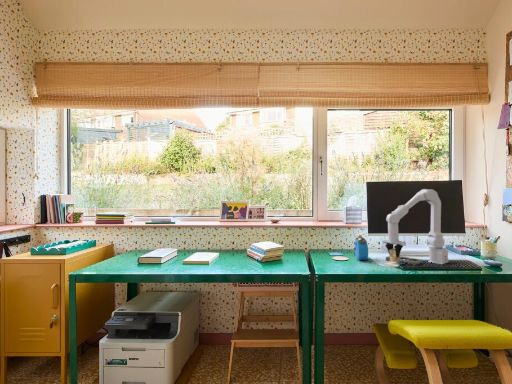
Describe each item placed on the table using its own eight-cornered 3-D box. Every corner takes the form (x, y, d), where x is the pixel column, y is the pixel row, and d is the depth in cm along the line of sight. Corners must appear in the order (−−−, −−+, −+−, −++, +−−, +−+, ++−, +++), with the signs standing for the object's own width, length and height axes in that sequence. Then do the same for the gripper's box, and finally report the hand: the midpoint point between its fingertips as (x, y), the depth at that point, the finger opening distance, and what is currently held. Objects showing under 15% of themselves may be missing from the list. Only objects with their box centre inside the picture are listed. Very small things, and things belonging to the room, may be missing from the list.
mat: (406, 264, 211) (406, 263, 211) (396, 266, 206) (396, 266, 206) (392, 261, 218) (392, 261, 218) (383, 264, 214) (383, 263, 214)
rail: (422, 263, 211) (422, 259, 211) (415, 265, 207) (414, 262, 207) (393, 258, 228) (393, 255, 228) (385, 260, 223) (385, 257, 223)
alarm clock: (369, 261, 222) (367, 238, 222) (359, 262, 222) (357, 238, 222) (364, 257, 235) (363, 235, 235) (354, 257, 235) (353, 235, 235)
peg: (399, 261, 212) (399, 249, 212) (395, 262, 210) (395, 250, 209) (394, 260, 215) (393, 248, 215) (390, 261, 213) (389, 249, 213)
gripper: (378, 233, 216) (380, 255, 216) (400, 235, 204) (401, 259, 204) (386, 232, 220) (387, 254, 220) (407, 234, 207) (408, 257, 208)
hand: (394, 256), depth 212 cm, fingers closed on peg, 4 cm apart
